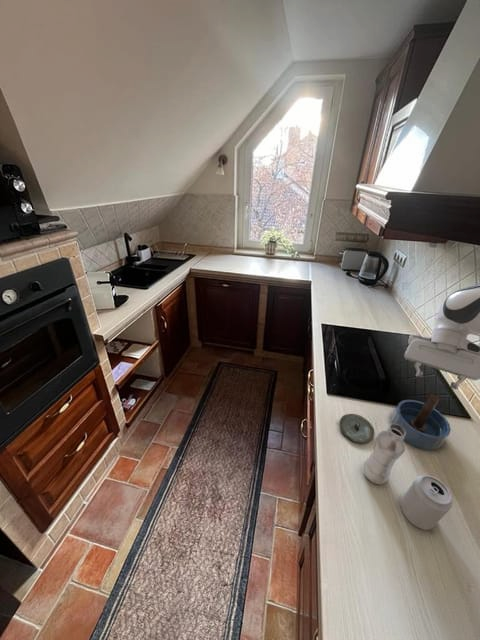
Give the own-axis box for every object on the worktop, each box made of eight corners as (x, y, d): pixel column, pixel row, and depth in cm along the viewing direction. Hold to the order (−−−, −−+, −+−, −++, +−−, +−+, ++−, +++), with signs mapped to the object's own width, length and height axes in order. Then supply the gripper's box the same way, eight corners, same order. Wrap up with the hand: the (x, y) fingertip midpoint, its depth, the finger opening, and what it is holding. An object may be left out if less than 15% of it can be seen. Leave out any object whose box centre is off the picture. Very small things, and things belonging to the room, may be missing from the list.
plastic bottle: (357, 475, 72) (378, 430, 61) (367, 458, 76) (388, 414, 66) (380, 493, 68) (407, 448, 58) (389, 475, 72) (416, 430, 62)
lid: (372, 430, 86) (376, 417, 85) (373, 449, 77) (377, 436, 76) (339, 419, 90) (342, 406, 89) (336, 436, 81) (340, 422, 80)
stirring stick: (419, 424, 86) (438, 393, 78) (426, 436, 82) (446, 404, 74) (405, 422, 87) (422, 390, 79) (410, 434, 83) (429, 402, 75)
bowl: (428, 415, 90) (436, 403, 87) (450, 454, 78) (460, 441, 74) (385, 409, 92) (390, 396, 89) (399, 446, 79) (407, 433, 76)
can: (440, 523, 62) (463, 499, 56) (419, 537, 60) (441, 513, 54) (412, 492, 68) (431, 467, 62) (392, 503, 66) (409, 478, 60)
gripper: (412, 330, 85) (400, 369, 83) (491, 351, 76) (480, 395, 73) (408, 335, 90) (397, 371, 88) (481, 355, 81) (470, 396, 79)
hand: (435, 382), depth 81 cm, fingers open, 8 cm apart
